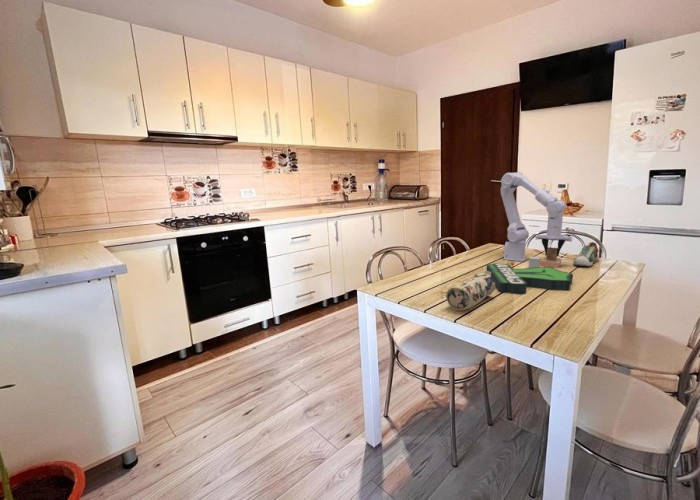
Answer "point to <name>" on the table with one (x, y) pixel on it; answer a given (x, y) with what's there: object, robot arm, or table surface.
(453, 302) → the pencil case
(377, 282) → the table surface
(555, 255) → the walnut block
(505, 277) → the emblem
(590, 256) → the sneaker
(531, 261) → the light grey block
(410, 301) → the table surface
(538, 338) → the table surface
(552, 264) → the terracotta tile
